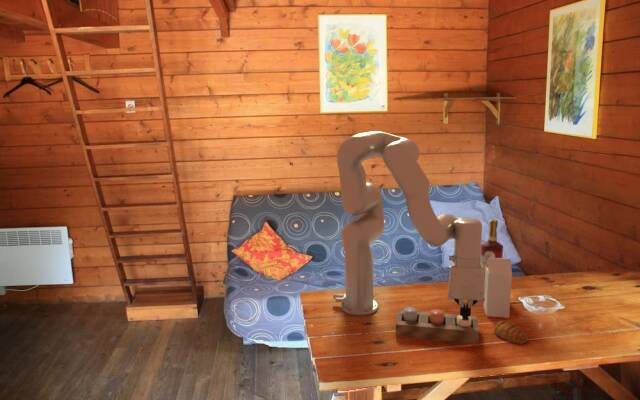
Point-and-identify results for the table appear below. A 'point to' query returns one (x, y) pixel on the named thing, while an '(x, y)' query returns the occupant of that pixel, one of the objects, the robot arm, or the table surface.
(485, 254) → the liquor
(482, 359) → the table surface
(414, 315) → the grey rounded block
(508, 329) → the pastry
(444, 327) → the console
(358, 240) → the robot arm
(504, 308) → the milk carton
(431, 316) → the brick key
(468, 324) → the white button
